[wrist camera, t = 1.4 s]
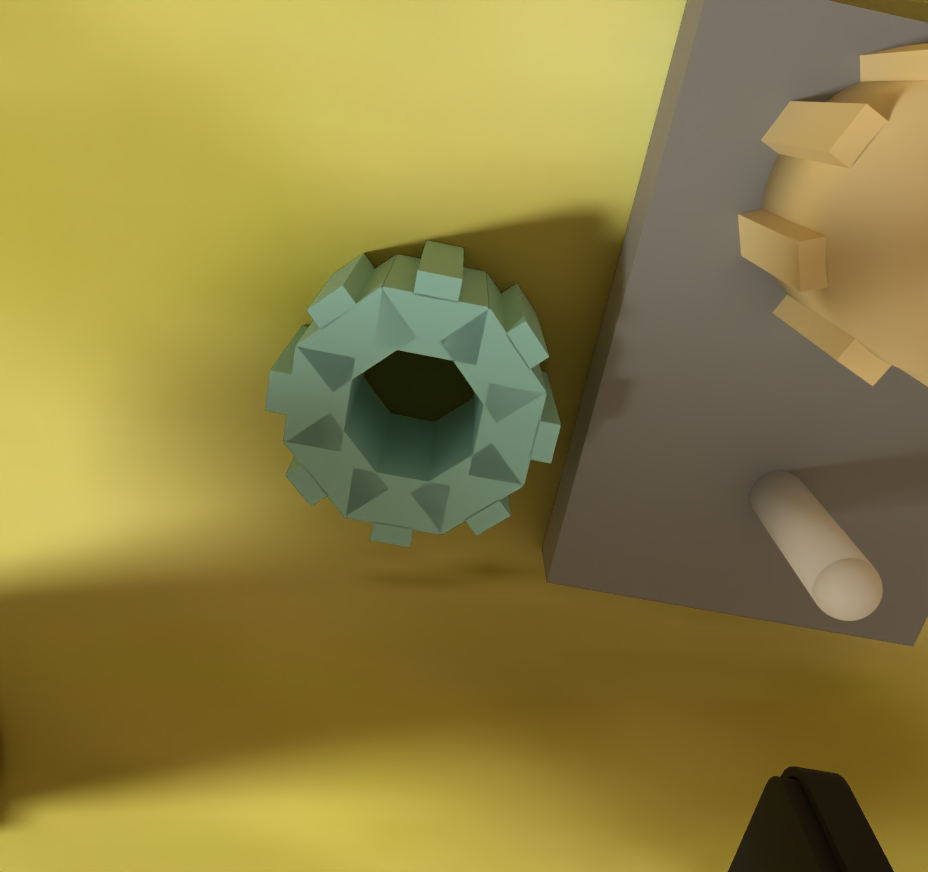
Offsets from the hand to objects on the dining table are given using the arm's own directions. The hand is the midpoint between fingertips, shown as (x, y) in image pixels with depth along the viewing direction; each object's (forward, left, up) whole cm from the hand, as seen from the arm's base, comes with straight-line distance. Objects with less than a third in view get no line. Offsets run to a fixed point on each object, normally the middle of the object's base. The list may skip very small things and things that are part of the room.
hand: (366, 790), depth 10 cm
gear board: (+3, -11, -17) cm, 20 cm away
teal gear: (0, 0, -17) cm, 17 cm away
